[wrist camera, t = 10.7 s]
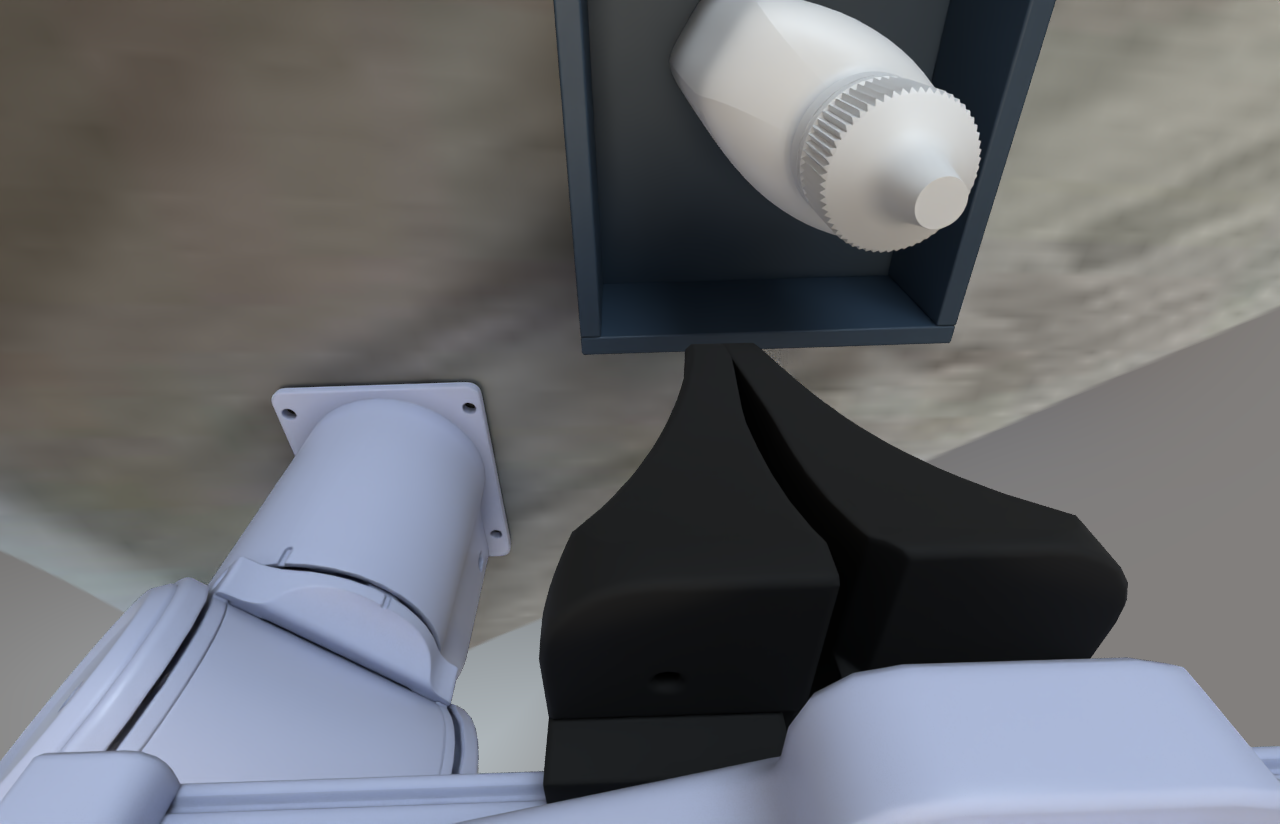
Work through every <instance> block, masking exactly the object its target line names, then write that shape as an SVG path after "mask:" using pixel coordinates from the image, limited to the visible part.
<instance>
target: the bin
mask: <svg viewBox="0 0 1280 824" xmlns="http://www.w3.org/2000/svg"><path fill="white" fill-rule="evenodd" d="M553 1H554V14H555V26H556V38H557V50H558V63H559V75H560V87H561V100H562V112H563V124H564V137H565V149H566V161H567V173H568V186H569V198H570V210H571V223H572V235H573V247H574V259H575V272H576V284H577V296H578V309H579V321H580V333H581V345H582V353H583V354H584V355H591V354H622V353H653V352H684V351H685V349H686V348H687V347H689V346H690V345H691V344H721V343H754V344H755V345H757V346H758V347H759V348H760V349H776V348H807V347H838V346H869V345H900V344H930V343H950V341H951V338H952V335H953V332H954V329H955V326H954V325H955V324H956V322H957V319H958V316H959V312H960V309H961V306H962V303H963V299H964V296H965V293H966V290H967V286H968V283H969V280H970V277H971V274H972V270H973V267H974V264H975V261H976V257H977V254H978V251H979V248H980V244H981V241H982V238H983V235H984V231H985V228H986V225H987V222H988V218H989V215H990V212H991V209H992V205H993V202H994V199H995V196H996V193H997V189H998V186H999V183H1000V180H1001V176H1002V173H1003V170H1004V167H1005V163H1006V160H1007V157H1008V154H1009V150H1010V147H1011V144H1012V141H1013V137H1014V134H1015V131H1016V128H1017V124H1018V121H1019V118H1020V115H1021V112H1022V108H1023V105H1024V102H1025V99H1026V95H1027V92H1028V89H1029V86H1030V82H1031V79H1032V76H1033V73H1034V69H1035V66H1036V63H1037V60H1038V56H1039V53H1040V50H1041V47H1042V44H1043V40H1044V37H1045V34H1046V31H1047V27H1048V24H1049V21H1050V18H1051V14H1052V11H1053V8H1054V5H1055V1H1056V0H804V1H807V2H811V3H815V4H818V5H821V6H824V7H827V8H829V9H832V10H835V11H838V12H841V13H843V14H845V15H847V16H850V17H852V18H854V19H856V20H858V21H860V22H862V23H863V24H865V25H867V26H869V27H871V28H872V29H874V30H875V31H877V32H878V33H880V34H881V35H883V36H884V37H886V38H887V39H889V40H890V41H891V42H893V43H894V44H895V45H896V46H898V47H899V48H900V49H901V50H902V51H903V52H904V53H905V54H907V55H908V56H909V57H910V58H911V59H912V60H913V61H914V62H915V63H916V65H917V66H918V67H919V68H920V69H921V70H922V71H923V73H924V74H925V75H926V76H927V78H928V79H929V81H930V82H931V83H932V85H933V86H934V87H935V88H938V89H941V90H944V91H946V93H949V94H953V97H954V98H957V99H960V103H962V104H965V107H966V109H967V110H970V116H971V117H974V124H976V125H977V132H979V133H980V134H979V139H978V140H980V141H981V143H980V147H979V149H981V152H980V155H979V157H980V158H981V159H980V162H979V164H978V165H979V169H978V171H977V177H976V178H975V180H974V185H973V187H972V188H971V190H970V194H969V195H968V201H967V205H966V207H965V209H964V211H963V213H962V214H961V215H960V217H959V218H958V219H957V220H956V221H954V222H953V223H952V224H950V225H948V226H946V227H944V228H942V229H939V230H938V231H937V232H936V233H935V234H932V235H931V236H930V237H929V238H928V239H924V240H923V241H921V242H920V243H916V244H915V245H913V246H908V247H907V248H905V249H903V248H901V249H899V250H897V251H895V250H892V251H890V252H887V251H884V252H881V253H880V252H879V251H876V252H872V251H871V250H869V251H865V250H864V249H858V248H857V247H856V246H853V247H852V246H851V245H850V244H849V243H845V242H844V241H843V239H840V238H839V237H838V236H837V235H833V234H830V233H827V232H824V231H822V230H819V229H816V228H814V227H812V226H810V225H807V224H805V223H803V222H801V221H800V220H798V219H796V218H794V217H792V216H791V215H789V214H788V213H786V212H784V211H783V210H781V209H780V208H778V207H777V206H776V205H774V204H773V203H772V202H770V201H769V200H768V199H767V198H765V197H764V196H763V195H762V194H761V193H760V192H758V191H757V190H756V189H755V188H754V187H753V186H752V185H751V184H750V183H749V182H748V181H747V180H746V179H745V178H744V177H743V176H742V174H741V173H740V172H739V171H738V170H737V169H736V168H735V167H734V165H733V164H732V163H731V162H730V161H729V159H728V158H727V157H726V155H725V154H724V153H723V152H722V150H721V149H720V147H719V146H718V145H717V143H716V142H715V140H714V139H713V138H712V136H711V135H710V133H709V132H708V130H707V129H706V127H705V126H704V124H703V123H702V122H701V120H700V119H699V117H698V116H697V114H696V113H695V111H694V110H693V108H692V107H691V105H690V104H689V102H688V100H687V99H686V97H685V96H684V94H683V93H682V91H681V89H680V88H679V86H678V85H677V83H676V81H675V79H674V77H673V75H672V73H671V68H670V63H669V60H670V56H671V52H672V49H673V47H674V45H675V43H676V41H677V39H678V37H679V36H680V34H681V32H682V30H683V29H684V27H685V25H686V23H687V21H688V20H689V18H690V16H691V14H692V13H693V11H694V9H695V8H696V6H697V5H698V3H699V2H700V1H701V0H553Z"/></svg>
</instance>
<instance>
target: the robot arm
mask: <svg viewBox="0 0 1280 824" xmlns="http://www.w3.org/2000/svg"><path fill="white" fill-rule="evenodd" d="M271 401H272V405H273V407H274V409H275V412H276V414H277V416H278V418H279V421H280V423H281V425H282V428H283V430H284V432H285V434H286V437H287V439H288V441H289V444H290V446H291V448H292V450H293V453H294V455H295V457H294V459H293V460H292V462H291V463H290V465H289V466H288V468H287V469H286V470H285V472H284V473H283V475H282V476H281V478H280V479H279V481H278V482H277V484H276V485H275V487H274V488H273V490H272V491H271V493H270V494H269V496H268V497H267V499H266V500H265V502H264V503H263V504H262V506H261V507H260V509H259V510H258V512H257V513H256V515H255V516H254V518H253V519H252V521H251V522H250V524H249V525H248V527H247V528H246V530H245V531H244V533H243V534H242V536H241V537H240V538H239V540H238V541H237V543H236V544H235V546H234V547H233V549H232V550H231V552H230V553H229V555H228V556H227V558H226V559H225V561H224V562H223V564H222V565H221V567H220V568H219V570H218V571H217V572H216V574H215V575H214V577H213V578H212V580H211V581H210V583H209V584H208V586H207V585H205V584H203V583H201V582H200V581H198V580H196V579H194V578H191V577H186V578H182V579H180V580H178V581H177V582H176V583H174V584H172V583H171V584H167V585H163V586H159V587H155V588H151V589H149V590H148V591H146V592H145V593H144V594H143V595H142V596H141V597H139V598H138V599H137V600H136V601H135V602H134V603H133V604H132V605H131V606H130V607H129V608H128V610H127V611H126V612H125V613H124V614H123V615H122V616H121V617H120V618H119V619H118V620H117V621H116V622H115V624H114V625H113V626H112V627H111V628H110V629H109V630H108V631H107V632H106V634H105V635H104V636H103V637H102V638H101V639H100V641H98V643H97V644H96V645H95V646H94V647H93V648H92V650H91V651H90V652H89V653H88V654H87V655H86V656H85V658H84V659H83V660H82V661H81V662H80V664H79V665H78V666H77V667H76V668H75V669H74V671H73V672H72V673H71V674H70V675H69V676H68V678H67V679H66V680H65V681H64V682H63V684H62V685H61V686H60V687H59V688H58V690H57V691H56V692H55V693H54V694H53V696H52V697H51V698H50V699H49V701H48V702H47V703H46V704H45V706H44V707H43V708H42V709H41V710H40V712H39V713H38V714H37V715H36V717H35V718H34V719H33V720H32V722H31V723H30V724H29V725H28V727H27V728H26V729H25V730H24V732H23V733H22V734H21V735H20V737H19V738H18V739H17V741H16V742H15V743H14V744H13V746H12V747H11V748H10V749H9V751H8V752H7V753H6V755H5V756H4V757H3V758H2V760H1V761H0V824H1280V746H1268V747H1250V746H1249V745H1248V744H1247V742H1246V741H1245V740H1244V739H1243V738H1242V736H1241V735H1240V734H1239V733H1238V732H1237V730H1236V729H1235V728H1234V727H1233V725H1232V724H1231V723H1230V722H1229V721H1228V719H1227V718H1226V717H1225V716H1224V715H1223V713H1222V712H1221V711H1220V710H1219V708H1218V707H1217V706H1216V705H1215V704H1214V702H1213V701H1212V700H1211V699H1210V698H1209V696H1208V695H1207V694H1206V693H1205V692H1204V690H1203V689H1202V688H1201V687H1200V686H1199V684H1197V682H1196V681H1195V680H1194V679H1193V678H1192V677H1191V675H1190V674H1189V673H1188V672H1187V671H1186V669H1185V668H1184V667H1180V666H1176V665H1171V664H1167V663H1161V662H1154V661H1147V660H1141V659H1134V658H1127V657H1125V658H1092V659H1090V658H1091V657H1092V655H1093V654H1094V652H1095V651H1096V650H1097V648H1098V647H1099V645H1100V644H1101V643H1102V641H1103V640H1104V639H1105V637H1106V636H1107V634H1108V633H1109V631H1110V630H1111V629H1112V627H1113V626H1114V624H1115V623H1116V621H1117V619H1118V617H1119V615H1120V613H1121V612H1122V610H1123V607H1124V606H1125V603H1126V600H1127V588H1128V582H1127V580H1126V578H1125V575H1124V573H1123V571H1122V569H1121V567H1120V566H1119V565H1118V564H1117V562H1116V561H1115V560H1114V559H1113V558H1112V557H1111V555H1110V554H1109V553H1108V552H1107V551H1106V550H1105V549H1104V547H1103V546H1102V545H1101V544H1100V543H1099V542H1098V541H1097V539H1096V538H1095V537H1094V536H1093V535H1092V533H1091V532H1090V531H1089V530H1088V529H1087V528H1086V526H1085V525H1084V524H1083V523H1082V522H1081V521H1080V520H1079V519H1078V517H1077V516H1076V515H1072V514H1069V513H1066V512H1062V511H1059V510H1056V509H1053V508H1049V507H1046V506H1042V505H1039V504H1036V503H1033V502H1029V501H1026V500H1023V499H1020V498H1016V497H1013V496H1010V495H1006V494H1004V493H1001V492H998V491H995V490H993V489H990V488H987V487H985V486H982V485H979V484H977V483H974V482H971V481H969V480H966V479H963V478H961V477H958V476H956V475H953V474H951V473H949V472H946V471H944V470H942V469H939V468H937V467H935V466H933V465H931V464H929V463H926V462H924V461H922V460H920V459H918V458H916V457H914V456H912V455H910V454H908V453H905V452H903V451H902V450H900V449H898V448H896V447H894V446H892V445H890V444H888V443H886V442H885V441H883V440H881V439H880V438H878V437H876V436H875V435H873V434H871V433H869V432H868V431H866V430H864V429H863V428H861V427H859V426H858V425H856V424H855V423H853V422H851V421H850V420H848V419H847V418H845V417H844V416H843V415H841V414H840V413H838V412H837V411H836V410H834V409H833V408H831V407H830V406H829V405H827V404H826V403H824V402H823V401H822V400H820V399H819V398H818V397H817V396H815V395H814V394H813V393H811V392H810V391H809V390H808V389H806V388H805V387H804V386H803V385H802V384H800V383H799V382H798V381H797V380H796V379H794V378H793V377H792V376H791V375H790V374H789V373H787V372H786V371H785V370H784V369H783V368H782V367H781V366H779V365H778V364H777V363H776V362H775V361H774V360H773V359H772V358H771V357H769V356H768V355H767V354H766V353H765V352H764V351H763V350H762V349H760V348H759V347H758V346H757V345H755V344H754V343H721V344H691V345H690V346H689V347H687V348H686V349H685V367H684V380H683V383H682V386H681V390H680V393H679V396H678V399H677V401H676V403H675V406H674V408H673V410H672V413H671V415H670V417H669V419H668V422H667V424H666V425H665V427H664V429H663V431H662V433H661V435H660V436H659V438H658V440H657V441H656V443H655V445H654V446H653V448H652V449H651V451H650V452H649V454H648V455H647V457H646V458H645V459H644V461H643V462H642V464H641V465H640V466H639V468H638V469H637V470H636V472H635V473H634V474H633V475H632V476H631V478H630V479H629V480H628V481H627V482H626V483H625V484H624V485H623V486H622V487H621V488H620V490H619V491H618V492H617V493H616V494H615V495H614V496H613V497H612V498H611V499H610V500H609V501H608V502H607V503H606V504H605V505H604V506H603V507H602V508H601V509H600V510H598V511H597V512H596V513H595V514H594V515H592V516H591V517H590V518H589V519H588V520H586V521H585V522H584V523H583V524H582V525H580V526H579V527H578V528H577V529H576V530H574V531H573V532H572V534H571V536H570V538H569V540H568V542H567V544H566V547H565V549H564V551H563V553H562V556H561V558H560V561H559V563H558V566H557V568H556V571H555V573H554V576H553V579H552V582H551V585H550V588H549V592H548V595H547V599H546V603H545V607H544V611H543V618H542V628H541V638H540V654H539V662H540V668H541V673H542V679H543V685H544V691H545V697H546V703H547V709H548V714H549V723H548V734H547V745H546V756H545V767H544V771H539V772H511V773H510V772H508V773H479V774H478V760H479V755H478V739H477V733H476V728H475V726H474V723H473V721H472V718H471V717H470V716H469V715H468V713H467V712H466V711H465V710H464V709H462V708H460V707H458V706H456V705H453V704H451V701H452V696H453V692H454V688H455V683H456V680H457V678H458V676H459V675H460V673H461V671H462V669H463V666H464V664H465V660H466V657H467V653H468V648H469V644H470V639H471V634H472V630H473V625H474V621H475V616H476V612H477V607H478V602H479V598H480V593H481V589H482V584H483V579H484V575H485V570H486V566H487V561H488V557H489V556H504V555H506V554H508V553H509V552H510V549H511V539H510V534H509V529H508V524H507V519H506V514H505V509H504V504H503V499H502V494H501V488H500V483H499V478H498V473H497V468H496V463H495V458H494V453H493V448H492V443H491V438H490V433H489V428H488V422H487V417H486V412H485V407H484V402H483V397H482V392H481V390H480V388H479V387H478V386H477V385H475V384H473V383H470V382H452V383H422V384H392V385H362V386H332V387H302V388H282V389H279V390H278V391H276V392H275V394H274V395H273V396H272V399H271ZM465 403H472V404H473V405H475V408H469V407H467V406H466V405H465ZM287 409H291V410H292V411H294V412H295V414H292V413H290V412H288V410H287ZM494 530H498V531H500V532H495V531H494Z"/></svg>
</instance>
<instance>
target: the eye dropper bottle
mask: <svg viewBox="0 0 1280 824" xmlns="http://www.w3.org/2000/svg"><path fill="white" fill-rule="evenodd" d="M669 63H670V68H671V73H672V75H673V77H674V79H675V81H676V83H677V85H678V86H679V88H680V89H681V91H682V93H683V94H684V96H685V97H686V99H687V100H688V102H689V104H690V105H691V107H692V108H693V110H694V111H695V113H696V114H697V116H698V117H699V119H700V120H701V122H702V123H703V124H704V126H705V127H706V129H707V130H708V132H709V133H710V135H711V136H712V138H713V139H714V140H715V142H716V143H717V145H718V146H719V147H720V149H721V150H722V152H723V153H724V154H725V155H726V157H727V158H728V159H729V161H730V162H731V163H732V164H733V165H734V167H735V168H736V169H737V170H738V171H739V172H740V173H741V174H742V176H743V177H744V178H745V179H746V180H747V181H748V182H749V183H750V184H751V185H752V186H753V187H754V188H755V189H756V190H757V191H758V192H760V193H761V194H762V195H763V196H764V197H765V198H767V199H768V200H769V201H770V202H772V203H773V204H774V205H776V206H777V207H778V208H780V209H781V210H783V211H784V212H786V213H788V214H789V215H791V216H792V217H794V218H796V219H798V220H800V221H801V222H803V223H805V224H807V225H810V226H812V227H814V228H816V229H819V230H822V231H824V232H827V233H830V234H833V235H837V236H838V237H839V238H840V239H843V241H844V242H845V243H849V244H850V245H851V246H852V247H853V246H856V247H857V248H858V249H864V250H865V251H869V250H871V251H872V252H876V251H879V252H880V253H881V252H884V251H887V252H890V251H892V250H895V251H897V250H899V249H901V248H903V249H905V248H907V247H908V246H913V245H915V244H916V243H920V242H921V241H923V240H924V239H928V238H929V237H930V236H931V235H932V234H935V233H936V232H937V231H938V230H939V229H942V228H944V227H946V226H948V225H950V224H952V223H953V222H954V221H956V220H957V219H958V218H959V217H960V215H961V214H962V213H963V211H964V209H965V207H966V205H967V201H968V195H969V194H970V190H971V188H972V187H973V185H974V180H975V178H976V177H977V171H978V169H979V165H978V164H979V162H980V159H981V158H980V157H979V155H980V152H981V149H979V147H980V143H981V141H980V140H978V139H979V134H980V133H979V132H977V125H976V124H974V117H971V116H970V110H967V109H966V107H965V104H962V103H960V99H957V98H954V97H953V94H949V93H946V91H944V90H941V89H938V88H935V87H934V86H933V85H932V83H931V82H930V81H929V79H928V78H927V76H926V75H925V74H924V73H923V71H922V70H921V69H920V68H919V67H918V66H917V65H916V63H915V62H914V61H913V60H912V59H911V58H910V57H909V56H908V55H907V54H905V53H904V52H903V51H902V50H901V49H900V48H899V47H898V46H896V45H895V44H894V43H893V42H891V41H890V40H889V39H887V38H886V37H884V36H883V35H881V34H880V33H878V32H877V31H875V30H874V29H872V28H871V27H869V26H867V25H865V24H863V23H862V22H860V21H858V20H856V19H854V18H852V17H850V16H847V15H845V14H843V13H841V12H838V11H835V10H832V9H829V8H827V7H824V6H821V5H818V4H815V3H811V2H807V1H804V0H701V1H700V2H699V3H698V5H697V6H696V8H695V9H694V11H693V13H692V14H691V16H690V18H689V20H688V21H687V23H686V25H685V27H684V29H683V30H682V32H681V34H680V36H679V37H678V39H677V41H676V43H675V45H674V47H673V49H672V52H671V56H670V60H669Z"/></svg>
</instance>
